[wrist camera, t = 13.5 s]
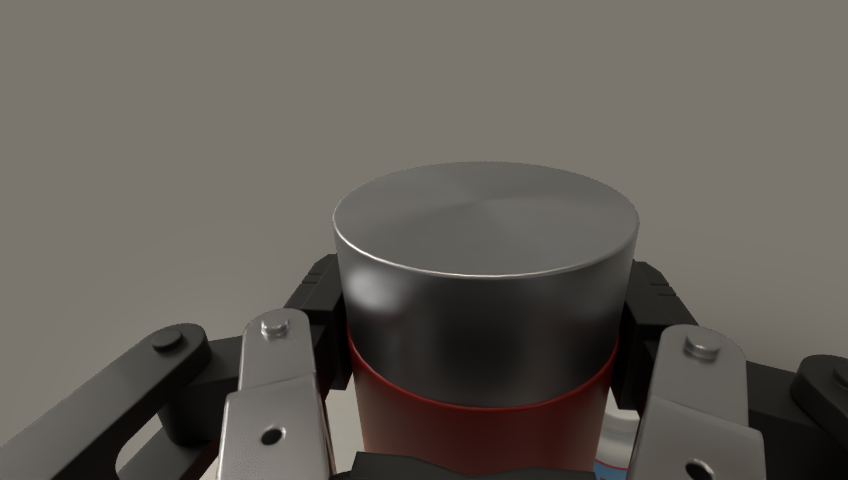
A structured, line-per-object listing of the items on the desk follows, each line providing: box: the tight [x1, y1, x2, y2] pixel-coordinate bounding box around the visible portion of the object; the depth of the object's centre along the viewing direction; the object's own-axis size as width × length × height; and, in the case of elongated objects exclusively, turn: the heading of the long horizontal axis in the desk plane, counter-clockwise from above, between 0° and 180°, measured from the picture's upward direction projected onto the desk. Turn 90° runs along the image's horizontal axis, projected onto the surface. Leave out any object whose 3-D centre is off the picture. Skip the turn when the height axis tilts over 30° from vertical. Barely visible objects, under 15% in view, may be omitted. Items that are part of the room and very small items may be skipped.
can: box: [332, 162, 640, 476], centre depth 11 cm, size 6×6×11 cm
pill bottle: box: [593, 388, 640, 480], centre depth 31 cm, size 6×6×11 cm
